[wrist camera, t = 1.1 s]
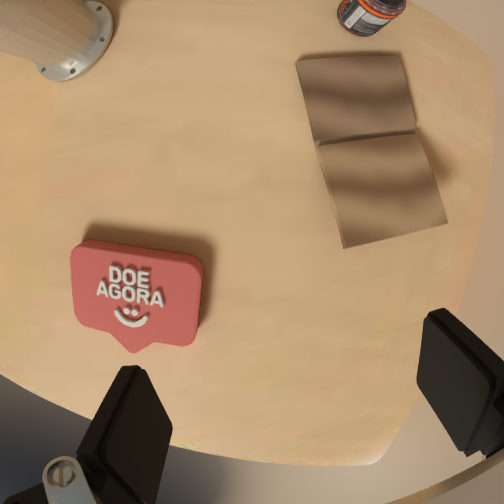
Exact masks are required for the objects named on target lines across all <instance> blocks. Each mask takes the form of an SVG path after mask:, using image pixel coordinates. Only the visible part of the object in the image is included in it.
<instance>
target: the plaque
mask: <svg viewBox="0 0 504 504" xmlns="http://www.w3.org/2000/svg"><path fill="white" fill-rule="evenodd" d="M70 265H71V282H72V295H73V305H74V312H75V316H76V318H77V319H78V321H79V322H80V323H81V324H82V325H84V326H85V327H89V328H93V329H97V330H101V331H105V332H109V333H111V334H112V335H113V337H114V338H115V339H116V340H117V341H118V342H119V343H120V344H121V345H122V346H123V347H124V348H125V349H126V350H128V351H129V352H130V353H137V352H138V351H140V350H142V349H143V348H145V347H147V346H148V345H150V344H151V343H153V342H158V343H164V344H170V345H176V346H182V347H183V346H188V345H190V344H191V343H192V342H193V341H194V340H195V337H196V333H197V329H198V324H199V312H200V302H201V291H202V281H203V266H202V264H201V262H200V260H199V259H197V258H196V257H194V256H192V255H188V254H181V253H174V252H167V251H161V250H154V249H147V248H141V247H134V246H128V245H121V244H115V243H108V242H102V241H95V240H86V241H84V242H83V243H81V244H79V245H78V246H76V247H75V248H74V249H73V250H72V252H71V256H70Z"/></svg>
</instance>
